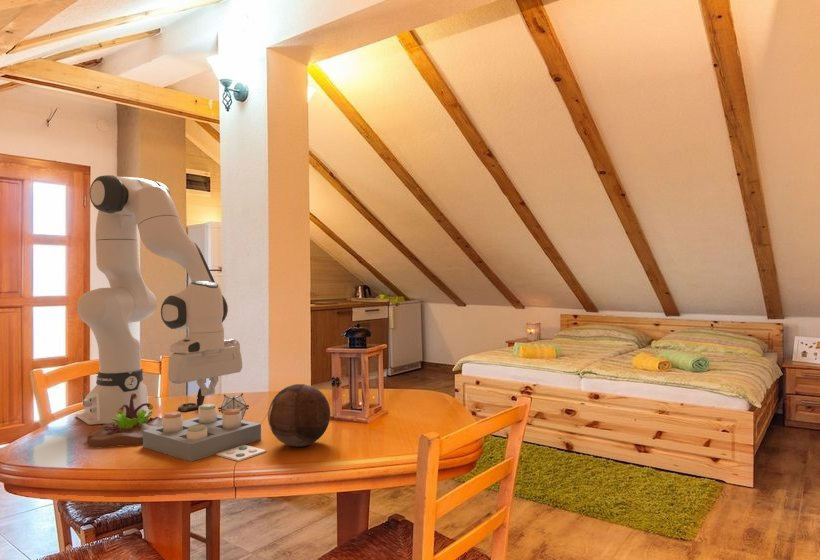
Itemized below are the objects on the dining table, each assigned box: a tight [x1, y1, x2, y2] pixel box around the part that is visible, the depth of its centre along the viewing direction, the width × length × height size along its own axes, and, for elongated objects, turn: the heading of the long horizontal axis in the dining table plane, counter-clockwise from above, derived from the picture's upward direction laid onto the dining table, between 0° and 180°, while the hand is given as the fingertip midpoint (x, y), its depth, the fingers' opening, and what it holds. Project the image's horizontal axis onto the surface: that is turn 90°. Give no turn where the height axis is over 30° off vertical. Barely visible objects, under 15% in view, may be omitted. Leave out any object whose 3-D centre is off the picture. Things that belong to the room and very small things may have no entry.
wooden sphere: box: [267, 383, 331, 448], centre depth 137 cm, size 15×15×15 cm
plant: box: [87, 393, 163, 448], centre depth 148 cm, size 20×20×11 cm
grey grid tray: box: [142, 414, 262, 462], centre depth 140 cm, size 20×20×4 cm
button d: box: [221, 409, 242, 430], centre depth 141 cm, size 5×5×6 cm
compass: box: [177, 387, 206, 412], centre depth 175 cm, size 8×8×7 cm
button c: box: [187, 425, 207, 441], centre depth 133 cm, size 5×5×6 cm
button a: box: [162, 411, 184, 434], centre depth 139 cm, size 5×5×6 cm
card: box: [216, 444, 267, 462], centre depth 131 cm, size 8×8×1 cm
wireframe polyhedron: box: [217, 392, 250, 420], centre depth 159 cm, size 9×8×10 cm
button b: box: [197, 403, 218, 424], centre depth 147 cm, size 5×5×6 cm
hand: (208, 394), depth 147 cm, fingers closed
